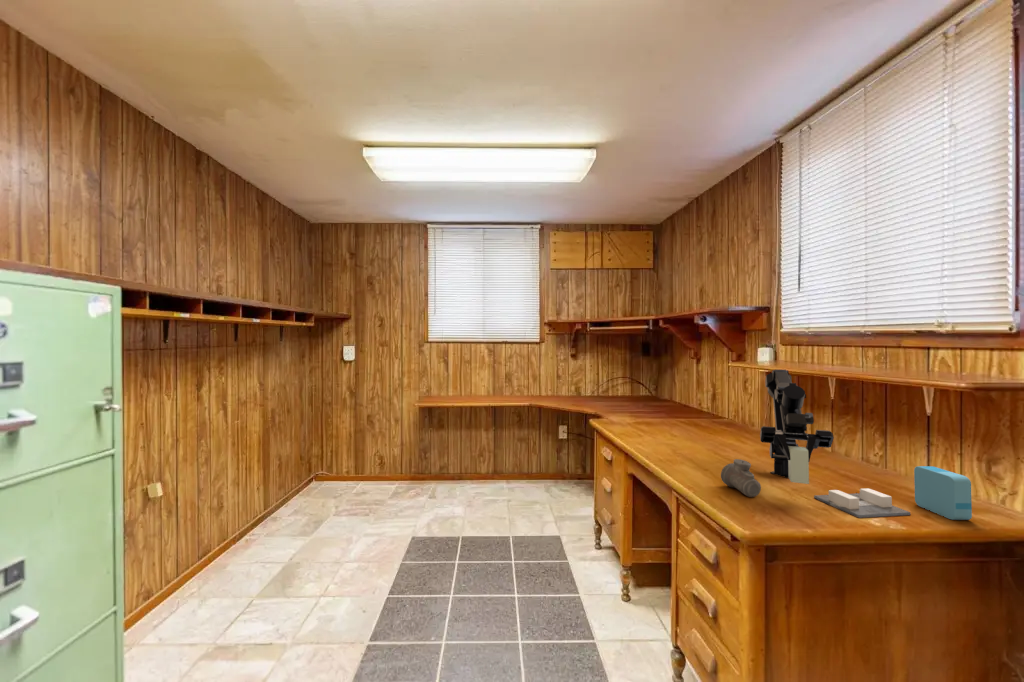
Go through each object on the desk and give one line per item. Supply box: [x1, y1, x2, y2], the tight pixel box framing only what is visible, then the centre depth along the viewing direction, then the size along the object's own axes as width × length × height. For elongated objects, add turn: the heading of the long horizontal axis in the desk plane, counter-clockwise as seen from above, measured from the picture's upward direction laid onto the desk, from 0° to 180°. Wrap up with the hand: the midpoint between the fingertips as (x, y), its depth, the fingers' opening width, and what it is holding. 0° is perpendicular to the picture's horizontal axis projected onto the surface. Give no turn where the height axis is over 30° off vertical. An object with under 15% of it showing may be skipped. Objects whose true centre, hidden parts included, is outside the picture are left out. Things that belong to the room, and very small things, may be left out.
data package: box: [913, 465, 973, 521], centre depth 117 cm, size 12×4×12 cm, turn 176°
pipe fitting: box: [720, 458, 762, 498], centre depth 135 cm, size 12×8×10 cm
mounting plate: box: [813, 492, 911, 519], centre depth 122 cm, size 16×15×1 cm
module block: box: [788, 446, 810, 485], centre depth 125 cm, size 4×4×10 cm
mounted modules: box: [828, 488, 893, 509], centre depth 122 cm, size 14×7×3 cm, turn 95°
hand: (799, 460), depth 124 cm, fingers closed on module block, 4 cm apart
